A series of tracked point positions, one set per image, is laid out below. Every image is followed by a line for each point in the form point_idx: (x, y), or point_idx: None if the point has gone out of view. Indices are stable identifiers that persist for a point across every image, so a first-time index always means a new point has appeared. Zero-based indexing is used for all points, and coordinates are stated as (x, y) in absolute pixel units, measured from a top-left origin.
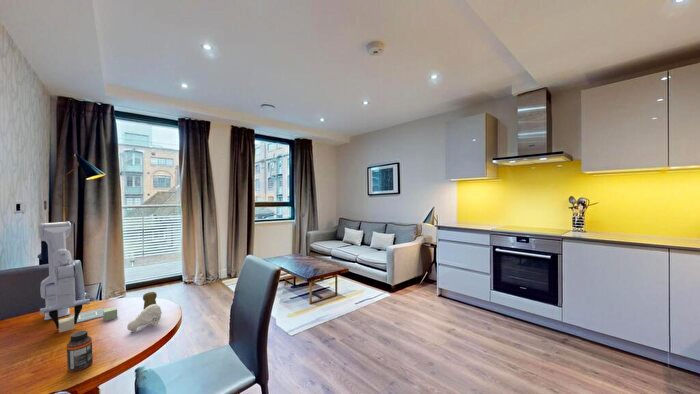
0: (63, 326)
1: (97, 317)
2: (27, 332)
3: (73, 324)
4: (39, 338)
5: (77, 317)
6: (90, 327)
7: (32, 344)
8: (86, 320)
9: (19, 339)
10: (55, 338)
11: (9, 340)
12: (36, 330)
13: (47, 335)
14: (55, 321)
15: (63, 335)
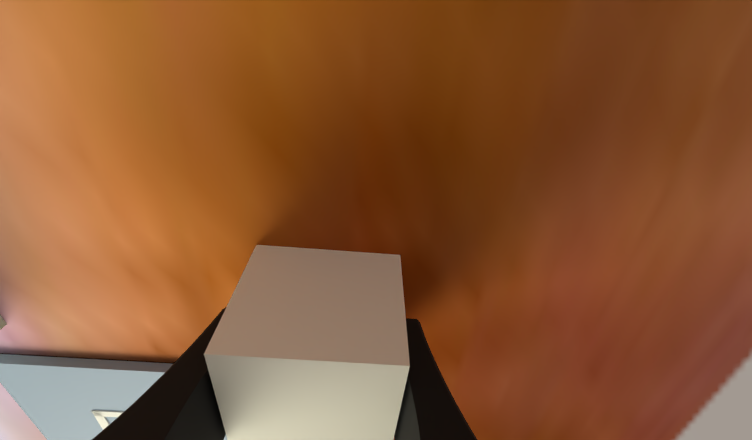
0: (354, 300)
1: (72, 364)
2: (562, 433)
3: (244, 287)
4: (573, 249)
5: (155, 383)
6: (51, 121)
7: (708, 105)
8: (169, 365)
9: (662, 355)
10: (467, 76)
11: (700, 385)
12: (513, 427)
13: (497, 270)
14: (451, 421)
15: (371, 110)
